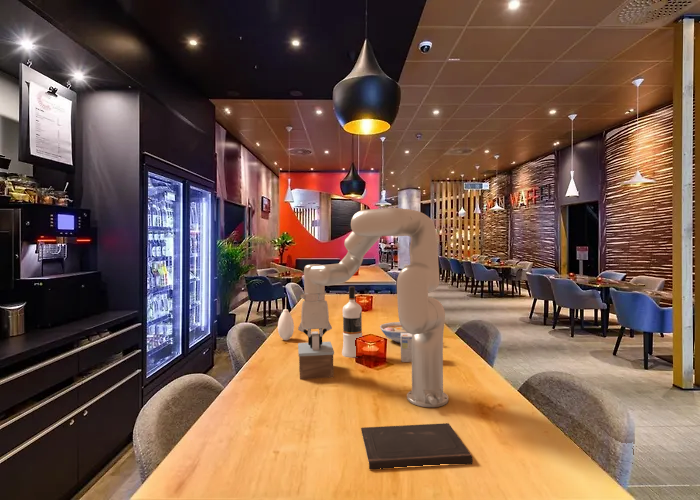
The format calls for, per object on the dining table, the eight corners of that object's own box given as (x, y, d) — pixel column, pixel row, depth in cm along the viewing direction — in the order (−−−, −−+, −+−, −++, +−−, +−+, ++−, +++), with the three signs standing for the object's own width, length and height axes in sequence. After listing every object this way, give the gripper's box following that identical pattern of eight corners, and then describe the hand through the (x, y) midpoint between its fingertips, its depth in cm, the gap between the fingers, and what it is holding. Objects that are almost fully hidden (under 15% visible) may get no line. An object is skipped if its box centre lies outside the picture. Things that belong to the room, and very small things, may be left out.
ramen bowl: (372, 337, 202) (372, 321, 202) (412, 334, 209) (412, 318, 209) (391, 350, 178) (391, 332, 178) (436, 345, 185) (436, 328, 185)
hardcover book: (361, 436, 101) (361, 427, 101) (448, 431, 103) (448, 423, 103) (369, 472, 85) (369, 462, 85) (472, 466, 87) (472, 456, 87)
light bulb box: (426, 358, 166) (425, 332, 166) (427, 362, 159) (427, 336, 159) (400, 357, 167) (400, 332, 167) (400, 362, 160) (400, 336, 160)
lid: (334, 357, 141) (333, 337, 141) (298, 359, 139) (298, 339, 139) (330, 346, 155) (330, 328, 155) (298, 348, 154) (297, 330, 153)
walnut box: (333, 379, 141) (333, 354, 141) (299, 381, 140) (299, 356, 139) (330, 367, 155) (329, 344, 155) (299, 368, 154) (298, 345, 153)
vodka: (347, 352, 176) (346, 285, 175) (366, 354, 172) (365, 285, 171) (338, 358, 167) (337, 287, 167) (358, 360, 164) (357, 288, 163)
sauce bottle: (297, 339, 200) (296, 303, 200) (286, 342, 194) (286, 306, 193) (285, 337, 205) (284, 302, 204) (274, 340, 198) (274, 304, 198)
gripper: (292, 299, 142) (293, 350, 142) (337, 298, 144) (337, 348, 145) (292, 296, 149) (293, 345, 150) (335, 295, 152) (335, 343, 152)
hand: (315, 346), depth 147 cm, fingers closed on lid, 2 cm apart
